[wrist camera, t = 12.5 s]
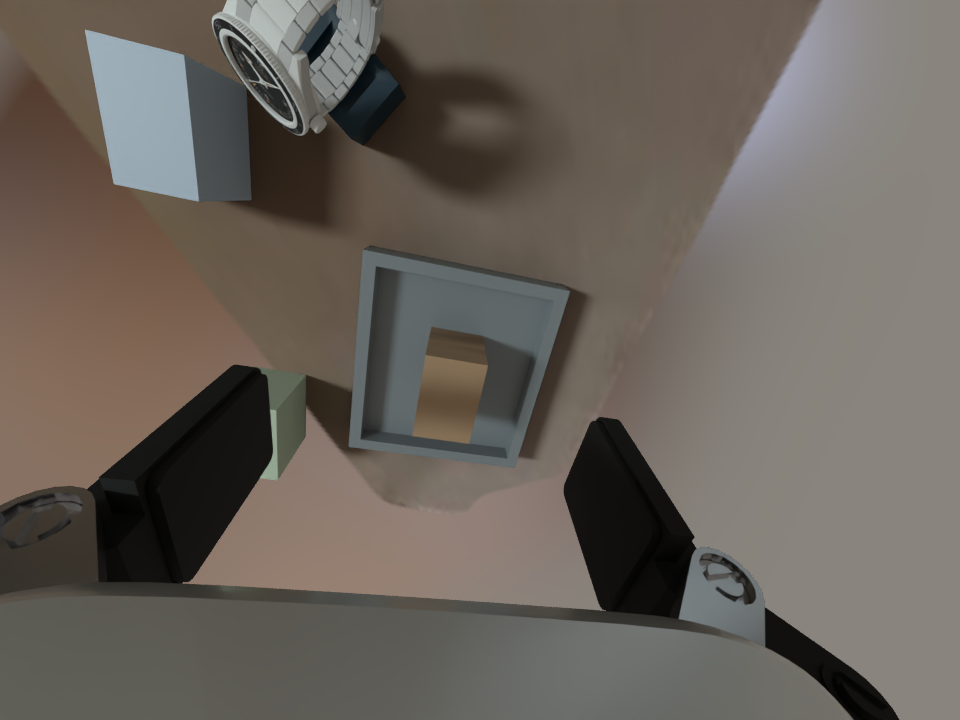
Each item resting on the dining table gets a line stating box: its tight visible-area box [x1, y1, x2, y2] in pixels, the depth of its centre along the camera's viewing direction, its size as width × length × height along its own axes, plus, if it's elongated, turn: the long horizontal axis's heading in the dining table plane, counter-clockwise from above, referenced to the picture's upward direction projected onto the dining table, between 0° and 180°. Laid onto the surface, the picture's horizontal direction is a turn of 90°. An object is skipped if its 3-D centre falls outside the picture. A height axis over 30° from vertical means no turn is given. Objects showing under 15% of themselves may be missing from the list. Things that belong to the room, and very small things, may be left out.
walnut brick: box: [412, 327, 488, 444], centre depth 29 cm, size 7×4×6 cm, turn 168°
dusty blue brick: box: [85, 30, 252, 202], centre depth 22 cm, size 7×4×6 cm, turn 168°
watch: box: [212, 0, 405, 145], centre depth 19 cm, size 6×8×11 cm
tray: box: [349, 246, 570, 468], centre depth 32 cm, size 18×16×2 cm
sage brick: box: [256, 367, 306, 480], centre depth 31 cm, size 7×4×6 cm, turn 168°
